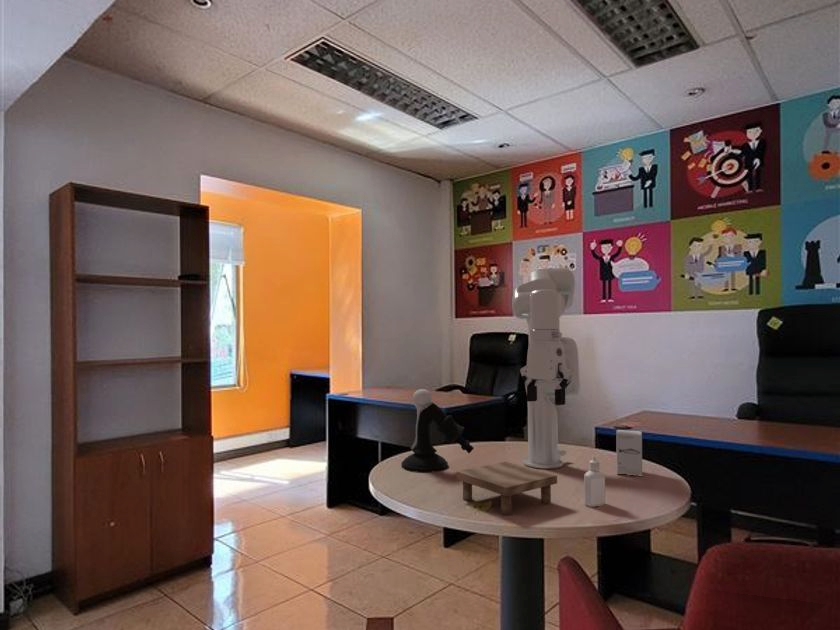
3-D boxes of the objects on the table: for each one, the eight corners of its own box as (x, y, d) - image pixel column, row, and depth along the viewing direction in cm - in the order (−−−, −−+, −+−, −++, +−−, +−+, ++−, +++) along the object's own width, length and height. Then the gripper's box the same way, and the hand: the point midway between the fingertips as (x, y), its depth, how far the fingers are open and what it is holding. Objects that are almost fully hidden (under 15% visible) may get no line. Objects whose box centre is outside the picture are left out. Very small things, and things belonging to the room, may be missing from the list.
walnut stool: (506, 486, 145) (505, 461, 145) (557, 503, 130) (557, 475, 130) (456, 498, 134) (456, 471, 134) (506, 518, 120) (506, 487, 120)
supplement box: (616, 475, 157) (615, 433, 157) (617, 469, 164) (616, 429, 164) (643, 477, 154) (642, 434, 154) (642, 471, 161) (641, 430, 161)
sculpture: (408, 459, 177) (408, 386, 178) (477, 463, 172) (476, 387, 173) (395, 470, 162) (395, 390, 163) (470, 475, 157) (469, 392, 158)
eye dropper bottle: (609, 507, 127) (608, 458, 128) (586, 507, 127) (585, 458, 127) (602, 501, 131) (602, 454, 132) (581, 501, 131) (580, 454, 132)
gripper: (581, 336, 130) (582, 405, 129) (531, 337, 144) (531, 399, 143) (560, 336, 126) (561, 407, 125) (511, 337, 140) (511, 400, 139)
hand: (545, 402), depth 134 cm, fingers open, 9 cm apart
